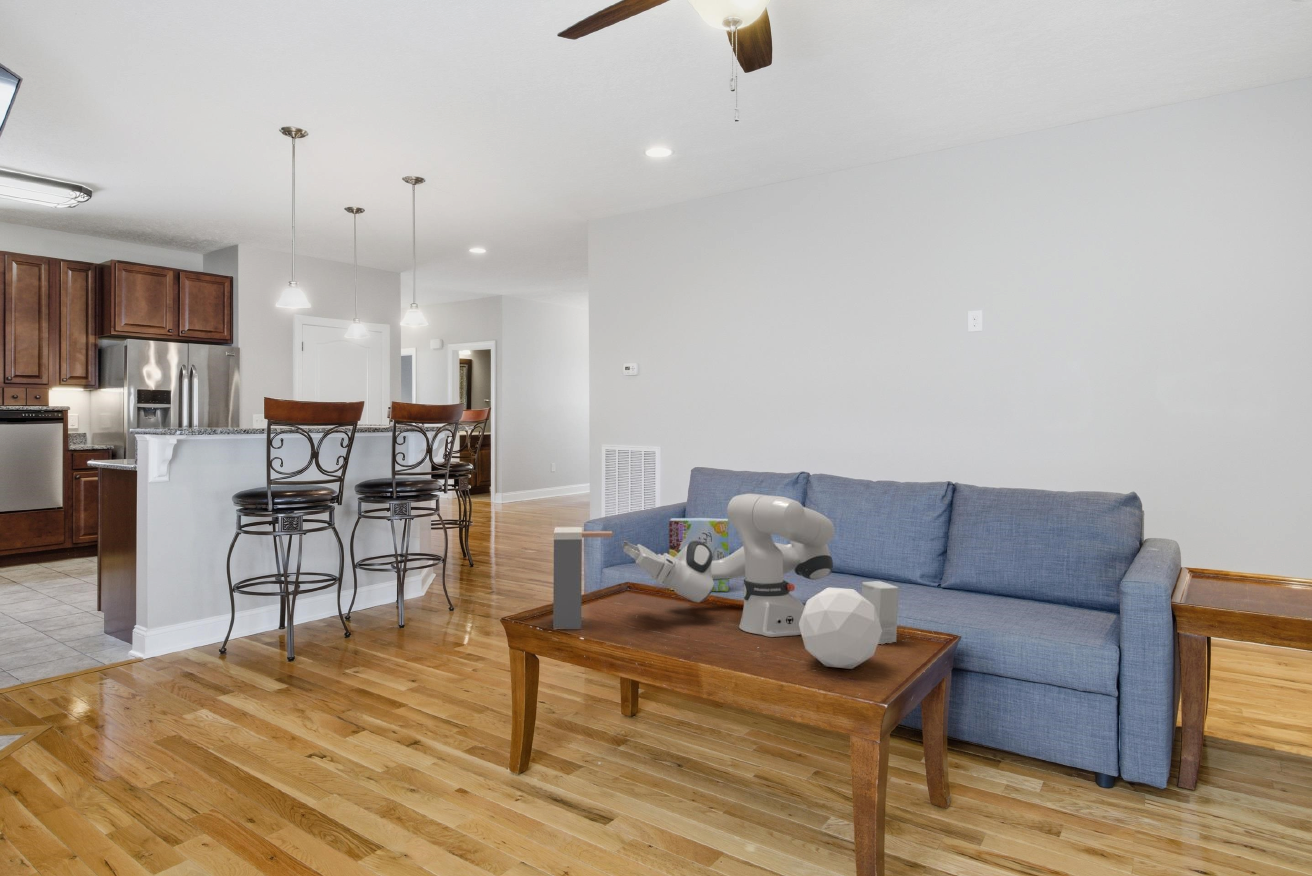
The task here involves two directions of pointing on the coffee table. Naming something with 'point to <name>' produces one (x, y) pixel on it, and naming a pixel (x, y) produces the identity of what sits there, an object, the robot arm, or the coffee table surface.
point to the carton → (567, 584)
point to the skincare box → (883, 607)
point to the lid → (578, 533)
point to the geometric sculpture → (840, 628)
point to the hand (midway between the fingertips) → (623, 545)
